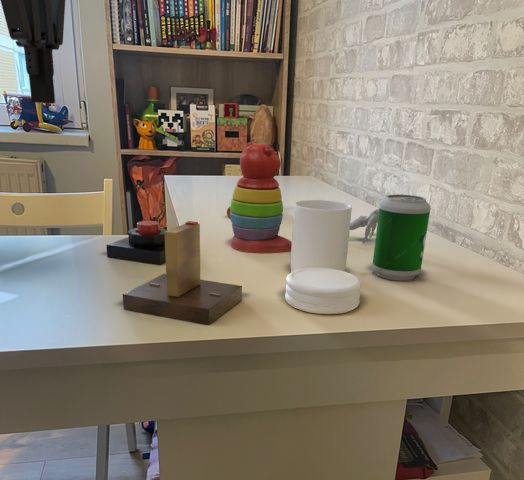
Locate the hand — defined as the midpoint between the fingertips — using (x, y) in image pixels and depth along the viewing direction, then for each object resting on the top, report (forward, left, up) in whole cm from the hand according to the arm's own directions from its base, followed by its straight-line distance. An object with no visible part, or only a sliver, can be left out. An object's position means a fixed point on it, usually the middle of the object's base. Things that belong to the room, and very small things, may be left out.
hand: (43, 102), depth 77 cm
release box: (+8, +13, -23) cm, 28 cm away
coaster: (+41, +3, -23) cm, 47 cm away
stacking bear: (+22, +27, -23) cm, 42 cm away
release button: (+8, +13, -20) cm, 25 cm away
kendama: (+8, +55, -23) cm, 61 cm away
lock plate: (+25, -6, -23) cm, 35 cm away
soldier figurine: (+37, +42, -23) cm, 60 cm away
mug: (+36, +17, -23) cm, 46 cm away
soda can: (+48, +21, -23) cm, 57 cm away
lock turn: (+25, -6, -21) cm, 33 cm away
